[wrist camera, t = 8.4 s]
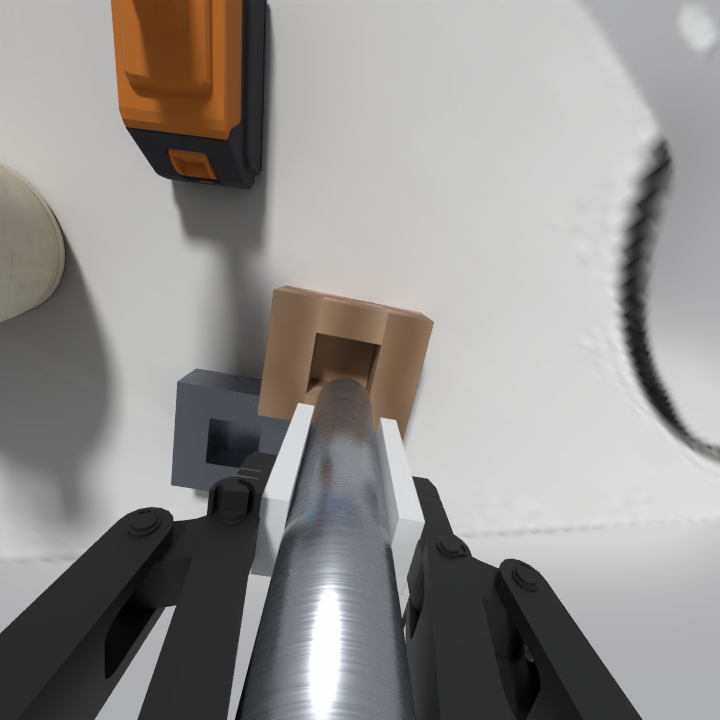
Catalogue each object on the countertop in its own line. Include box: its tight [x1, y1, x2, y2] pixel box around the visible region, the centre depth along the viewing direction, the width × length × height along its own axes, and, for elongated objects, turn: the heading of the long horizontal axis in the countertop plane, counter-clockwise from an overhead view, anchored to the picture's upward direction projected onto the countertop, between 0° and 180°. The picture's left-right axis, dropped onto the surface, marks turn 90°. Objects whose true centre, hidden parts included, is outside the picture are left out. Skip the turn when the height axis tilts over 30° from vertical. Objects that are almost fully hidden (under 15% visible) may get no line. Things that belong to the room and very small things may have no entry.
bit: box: [235, 378, 416, 720], centre depth 12 cm, size 3×3×16 cm
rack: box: [257, 286, 434, 440], centre depth 28 cm, size 12×10×5 cm
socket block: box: [171, 369, 291, 491], centre depth 31 cm, size 10×10×4 cm
